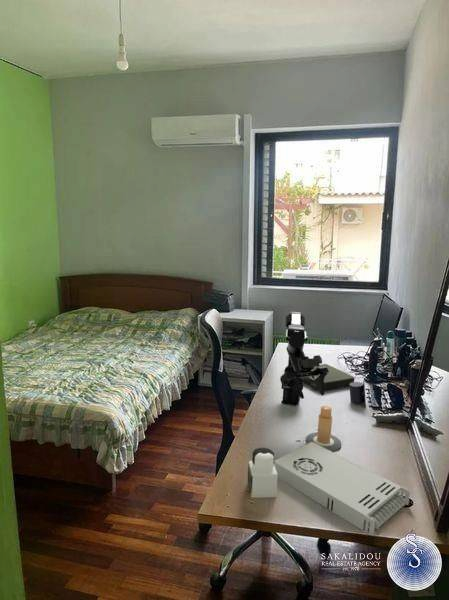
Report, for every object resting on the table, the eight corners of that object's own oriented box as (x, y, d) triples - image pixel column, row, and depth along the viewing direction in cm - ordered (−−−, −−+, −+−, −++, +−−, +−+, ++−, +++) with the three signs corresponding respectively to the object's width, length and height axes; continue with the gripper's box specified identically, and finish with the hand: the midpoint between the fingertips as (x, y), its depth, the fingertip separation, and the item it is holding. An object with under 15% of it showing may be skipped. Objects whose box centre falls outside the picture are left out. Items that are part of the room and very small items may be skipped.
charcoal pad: (302, 446, 144) (302, 444, 144) (309, 431, 155) (310, 429, 155) (338, 455, 140) (338, 453, 140) (343, 438, 151) (343, 436, 150)
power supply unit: (372, 538, 104) (374, 520, 103) (272, 476, 128) (273, 461, 127) (408, 507, 116) (410, 490, 115) (310, 455, 140) (311, 441, 139)
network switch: (358, 385, 202) (359, 375, 201) (324, 395, 189) (325, 384, 188) (321, 370, 221) (322, 361, 220) (288, 378, 208) (288, 369, 207)
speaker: (370, 403, 181) (370, 380, 179) (365, 408, 177) (364, 384, 175) (353, 399, 186) (352, 377, 184) (348, 404, 181) (347, 381, 180)
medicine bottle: (247, 482, 123) (249, 444, 121) (271, 482, 124) (273, 444, 122) (250, 498, 116) (252, 458, 114) (276, 498, 117) (279, 458, 115)
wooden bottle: (315, 442, 146) (318, 409, 144) (318, 436, 150) (320, 404, 148) (328, 445, 144) (331, 412, 142) (331, 439, 148) (334, 407, 146)
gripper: (287, 349, 150) (304, 391, 142) (328, 345, 158) (345, 384, 151) (273, 363, 158) (288, 403, 150) (312, 359, 167) (328, 396, 159)
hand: (313, 396), depth 152 cm, fingers open, 9 cm apart
